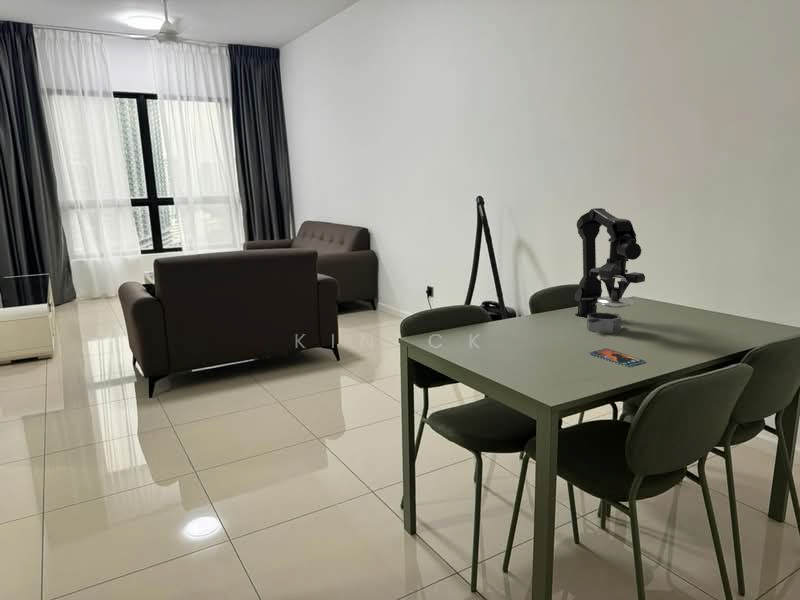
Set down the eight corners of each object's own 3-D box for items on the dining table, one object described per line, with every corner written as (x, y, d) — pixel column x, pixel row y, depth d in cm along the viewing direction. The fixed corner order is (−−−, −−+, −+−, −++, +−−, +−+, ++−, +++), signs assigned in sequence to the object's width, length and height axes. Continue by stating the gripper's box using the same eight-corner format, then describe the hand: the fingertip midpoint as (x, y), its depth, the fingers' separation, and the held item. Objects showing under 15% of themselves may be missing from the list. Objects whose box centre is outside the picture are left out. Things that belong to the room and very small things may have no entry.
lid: (590, 304, 204) (591, 287, 203) (609, 300, 211) (610, 283, 210) (620, 310, 195) (621, 292, 193) (639, 305, 202) (640, 288, 200)
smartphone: (628, 366, 164) (588, 352, 177) (628, 370, 165) (588, 356, 177) (647, 360, 168) (606, 346, 181) (646, 364, 169) (606, 350, 181)
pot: (577, 329, 206) (577, 316, 205) (603, 323, 215) (604, 310, 214) (603, 336, 197) (604, 322, 196) (629, 328, 206) (630, 315, 205)
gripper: (581, 255, 202) (579, 297, 205) (629, 260, 187) (626, 306, 191) (600, 252, 208) (597, 293, 212) (647, 257, 194) (643, 301, 197)
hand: (614, 298), depth 203 cm, fingers closed on lid, 3 cm apart
